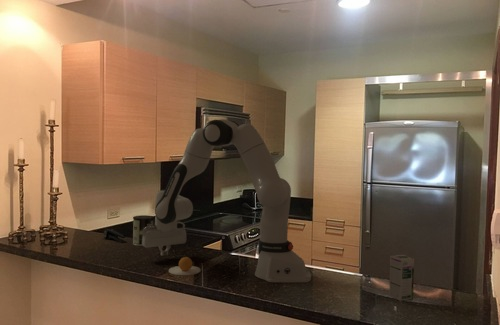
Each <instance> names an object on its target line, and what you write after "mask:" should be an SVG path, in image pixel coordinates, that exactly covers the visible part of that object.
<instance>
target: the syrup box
mask: <svg viewBox="0 0 500 325" xmlns="http://www.w3.org/2000/svg"><path fill="white" fill-rule="evenodd" d="M414 278H415V258H414V257H412V256H410V255H406V254H397V255H390V256H389V290H388V291H389V292H388V293H389V294H388V295H389V297H391V298H393V299H395V300H398V301H400V302H403V301H408V300H413V299H414V282H415V280H414Z"/></svg>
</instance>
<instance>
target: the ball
mask: <svg viewBox="0 0 500 325" xmlns="http://www.w3.org/2000/svg"><path fill="white" fill-rule="evenodd" d="M178 266H179V267H180V269H181V270H183V271H188V270H189V269H190V268H191V267H192V266H193V261H192V259H191V258H190V257H188V256H184V257H181V258H180V260H178Z"/></svg>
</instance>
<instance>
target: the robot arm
mask: <svg viewBox="0 0 500 325" xmlns="http://www.w3.org/2000/svg"><path fill="white" fill-rule="evenodd" d="M228 146H229V147H230V146H234V147H235V148H236V149H237V151H238V153H239V156H240V157H241V159H242V161H243V163H244V165H245V167H246V169H247V171H248V173H249V175H250V178H251V182H252V185H253V188H254V190H255V192H256V197H257V200H258V202H259V203H260V205H262V211H261V216H260V221H259V224H260V225H259V226H260V227H259V239H258V243H257V244H258V246H257V249H258V250H257V252H258V258H257V259H258V260H257V265H256V269H255V272H254V276H255V277H257V278H259V279H260V280H264V281H266V282H268V283H308V282H310V281H311V280H312V274H311V272H310V271H308V270H307V268H306V263H305V260H304V259H303V258H302V257H300V256H299V255H298V254H297V253H296V252H294V251H293V249H294V245H293V243H292V241H289V240H288V232H289V231H288V228H289V216H290V208H291V207H290V206H291V196H292V188H291V185H290V183H289V182H288V181H287V180H286V179H284V178H281V177H280V175H279V172H278V170H277V167H276V164H275V161H274V158H273V156H272V154H271V153H270V150H269V149H268V147H267V145H266V143H265V141H264V139H263V138H262V136H261V134H260V133H259V131H258V130H257V129H256V128H255V127H254V125H253V124H250V123H243V124H240V125H239V123H237V122H235V121H233V120H227V119H224V118H223V119H222V118H221V119H212V120H210V121H208V122H207V123H205V125H204V126H203V127H201V128H199V127H198V128H196V129H194V130H193V132H191V135H190V137H189V139H188V141H187V144H186V146H185V149H184V153H183V155H182V157H181V159H180V161H179V163H178V164H177V165H176V167H174V169H173V172H172V173H171V175H170V177H169V180H168V182H167V185H166V187H165V189H161V190H158V191H157V193H156V195H155V203H154V205H155V208H154V214H155V215H154V216H155V217H154V225H153V226H146V227H145V228H146V229H145V228H144V229H143V231H142V234H143V238H142V245H143V246H142V247H143V248H146V249H149V248H156V247H157V248H158V250H159V251H160V256H168V255H169V251H170V249H171V247H172V245H173V246H174V245H179V244H180V245H183V244H185V243H186V242H187V230H186V229H185V227H186V224H185V223H183V222H182V220H185V219H188V218H191V217H192V215H193V213H194V204H193V202H192V200H190V199H189V198H187V197H185V196H183V195H180V193H181V191H182V189H183V187H184V185H185V184H186V183H187V182H188V181H189V180H191V179H192V178H194V177H196V176H199V175H200V174H203V172H205V170H206V169H207V167H208V165H209V162H210V159H211V156H212V152H213V150H214V149H215V147H228ZM149 228H150V229H149ZM164 246H165V248H166V249H165V250H163V249H164Z"/></svg>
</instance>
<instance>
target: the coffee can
mask: <svg viewBox="0 0 500 325" xmlns="http://www.w3.org/2000/svg"><path fill="white" fill-rule="evenodd" d="M132 218H133V220H132V221H133V222H132V245H134V246H137V247H144V246H143V245H142V238H143V234H142V231H143V229H144V228H145V227H146V226H154V219H155V217H154V216H153V215H145V214H144V215H143V214H142V215H134V216H133V217H132ZM145 229H146V228H145ZM149 229H150V228H149Z"/></svg>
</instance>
